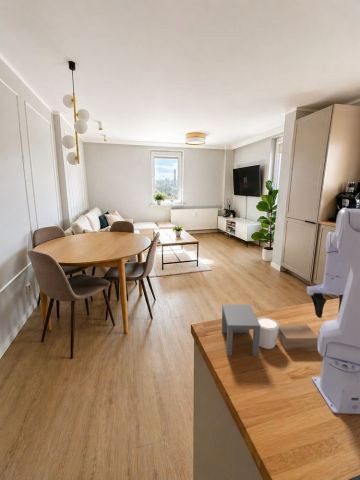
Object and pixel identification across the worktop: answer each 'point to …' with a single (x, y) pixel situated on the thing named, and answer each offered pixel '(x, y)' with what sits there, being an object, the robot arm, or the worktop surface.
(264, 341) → the white cylinder
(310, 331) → the tan wooden chunk
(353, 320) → the robot arm
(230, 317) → the grey tunnel arch
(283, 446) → the worktop surface
